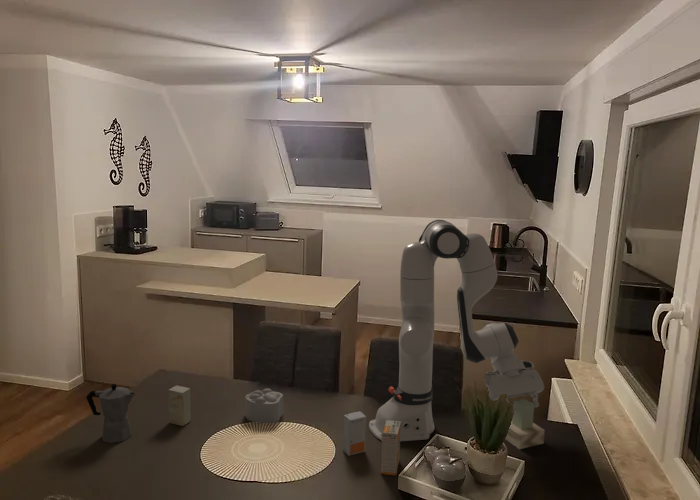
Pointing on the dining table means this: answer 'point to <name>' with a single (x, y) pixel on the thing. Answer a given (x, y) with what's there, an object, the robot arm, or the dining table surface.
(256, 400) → the lumpy-topped squat cylinder
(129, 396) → the coffeepot
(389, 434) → the supplement box
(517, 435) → the ash block
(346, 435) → the skincare box
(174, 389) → the skincare box
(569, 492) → the dining table surface
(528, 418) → the sage block
